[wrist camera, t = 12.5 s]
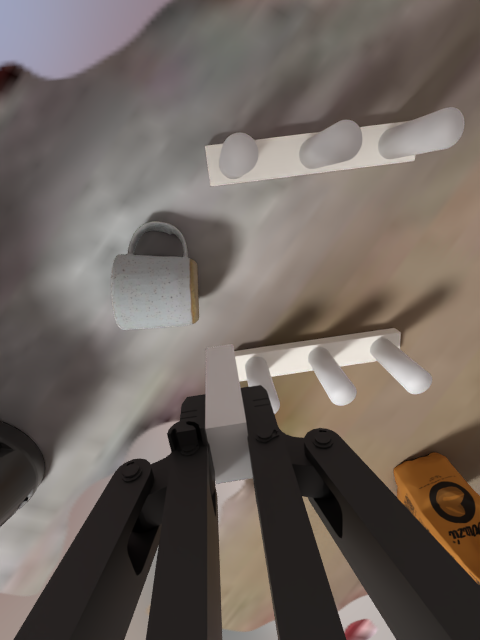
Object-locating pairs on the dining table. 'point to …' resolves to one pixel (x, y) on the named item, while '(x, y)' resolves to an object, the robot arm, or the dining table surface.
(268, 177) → the rack
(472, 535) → the coffee package
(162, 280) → the ceramic mug
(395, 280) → the dining table surface
